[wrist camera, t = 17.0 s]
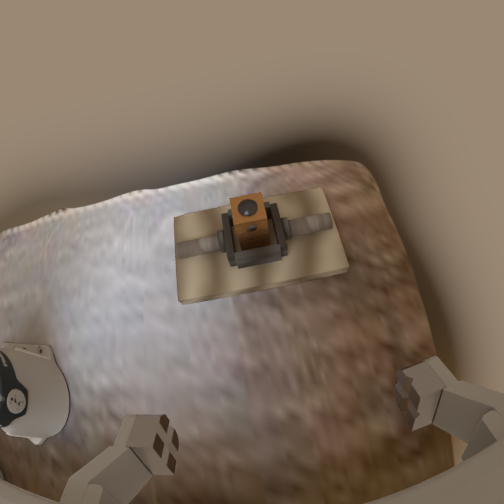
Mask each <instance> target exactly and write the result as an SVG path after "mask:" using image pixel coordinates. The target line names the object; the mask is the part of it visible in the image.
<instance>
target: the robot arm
mask: <svg viewBox="0 0 504 504" xmlns="http://www.w3.org/2000/svg"><path fill="white" fill-rule="evenodd" d="M397 379H398V381H399V383H398V384H397V385H396V387H395V398H396V402H397V405H398V407H399V409H400V410H401V411H404V412H406V415H405V420H406V421H407V423H408V425H409V427H410V429H411V430H412V431H413V430H416V429H418V428H421V427H424V426H426V425H428V424H431V423H432V424H433V425H435V426H437V427H439V428H440V429H442V430H444V431H446V432H448V433H449V434H451V435H453V436H455V437H457V438H459V439H460V440H462V441H464V442H466V443H468V446H467V448H466V450H465V452H464V453H463V455H462V459H463V462H462V463H460V464H458V465H456V466H454V467H452V468H450V469H448V470H446V471H444V472H442V473H440V474H438V475H436V476H434V477H432V478H430V479H428V480H425V481H423V482H421V483H419V484H416V485H414V486H412V487H409V488H407V489H404V490H402V491H399V492H397V493H394V494H391V495H388V496H386V497H383V498H380V499H377V500H374V501H371V502H368V503H364V504H504V394H503V393H500V392H497V391H493V390H490V389H487V388H484V387H481V386H477V385H475V384H472V383H468V382H465V381H462V380H461V381H459V382H458V380H457V379H456V378H455V377H454V376H453V374H452V373H451V372H450V371H449V370H448V368H447V367H446V366H445V365H444V364H443V363H442V361H441V360H440V359H439V358H438V357H437V356H433V357H431V358H428V359H426V360H423V361H421V362H418V363H415V364H413V365H410V366H407V367H405V368H402V369H399V370H398V372H397ZM68 413H69V393H68V388H67V384H66V381H65V379H64V376H63V374H62V372H61V371H60V369H59V368H58V366H57V364H56V362H55V359H54V355H53V351H52V348H51V347H50V346H47V345H34V344H17V343H3V344H2V346H1V348H0V427H1V428H2V429H3V430H4V431H5V432H6V434H8V435H11V436H18V437H27V438H28V439H30V440H31V441H32V442H33V443H34V444H36V445H41V444H42V443H43V442H44V441H45V440H46V438H48V437H50V436H53V435H56V434H57V433H59V432H60V431H61V430H62V428H63V427H64V425H65V423H66V421H67V418H68ZM178 448H179V441H178V436H177V433H176V431H175V429H174V428H173V427H171V426H169V419H168V418H167V416H166V415H164V414H127V415H126V416H125V417H124V418H123V421H122V424H121V426H120V429H119V432H118V434H117V437H116V440H115V442H114V445H113V446H109V447H108V448H107V449H105V450H104V451H103V452H102V453H100V454H99V455H98V456H97V457H95V458H94V459H93V460H92V461H90V462H89V463H88V464H86V465H85V466H84V467H83V468H81V469H80V470H79V471H77V472H76V473H75V474H73V475H72V476H71V477H69V479H68V482H67V484H66V487H65V489H64V492H63V494H62V497H61V499H60V502H56V501H53V500H50V499H47V498H44V497H42V496H39V495H36V494H34V493H31V492H29V491H26V490H24V489H22V488H19V487H17V486H15V485H12V484H10V483H8V482H6V481H4V480H2V479H0V504H129V503H130V501H131V500H132V499H133V498H134V497H135V496H136V495H137V494H138V492H139V491H140V490H141V489H142V488H143V487H144V486H145V484H146V483H147V482H148V481H149V480H150V479H151V477H152V476H153V475H174V471H175V466H176V460H175V458H174V457H173V456H174V455H175V454H176V453H177V452H178Z"/></svg>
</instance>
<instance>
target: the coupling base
mask: <svg viewBox="0 0 504 504" xmlns="http://www.w3.org/2000/svg"><path fill="white" fill-rule="evenodd" d="M263 203H264V207H265V211H266V216H267V221H268V229H269V237H270V246H265V247H260V248H255V249H250V250H245V251H242V250H241V247H240V244H239V240H238V237H237V234H236V231H235V228H234V224H233V217H232V211H231V205H228V206H223V207H218V208H213V209H209V210H204V211H200V212H195V213H191V214H186V215H182V216H178V217H174V236H175V259H176V276H177V292H178V301H179V302H180V303H181V304H182V305H184V304H190V303H196V302H202V301H207V300H213V299H218V298H224V297H229V296H235V295H240V294H245V293H250V292H256V291H261V290H266V289H271V288H276V287H281V286H286V285H290V284H295V283H300V282H305V281H309V280H314V279H319V278H323V277H328V276H333V275H337V274H341V273H346V272H347V271H348V269H349V264H348V261H347V257H346V254H345V251H344V248H343V245H342V242H341V239H340V236H339V234H338V231H337V228H336V225H335V222H334V219H333V216H332V214H331V211H330V208H329V205H328V203H327V200H326V197H325V195H324V192H323V189H322V188H317V189H311V190H305V191H299V192H294V193H288V194H283V195H278V196H272V197H267V198H263Z"/></svg>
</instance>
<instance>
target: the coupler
mask: <svg viewBox="0 0 504 504" xmlns="http://www.w3.org/2000/svg"><path fill="white" fill-rule="evenodd" d="M230 204H231V211H232V217H233V224H234V228H235V231H236V234H237V237H238V240H239V244H240V247H241V250H242V251H245V250H250V249H255V248H260V247H265V246H270V237H269V229H268V221H267V216H266V211H265V207H264V203H263V198H262V194H261V192H259V193H254V194H249V195H244V196H239V197H234V198H230Z"/></svg>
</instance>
